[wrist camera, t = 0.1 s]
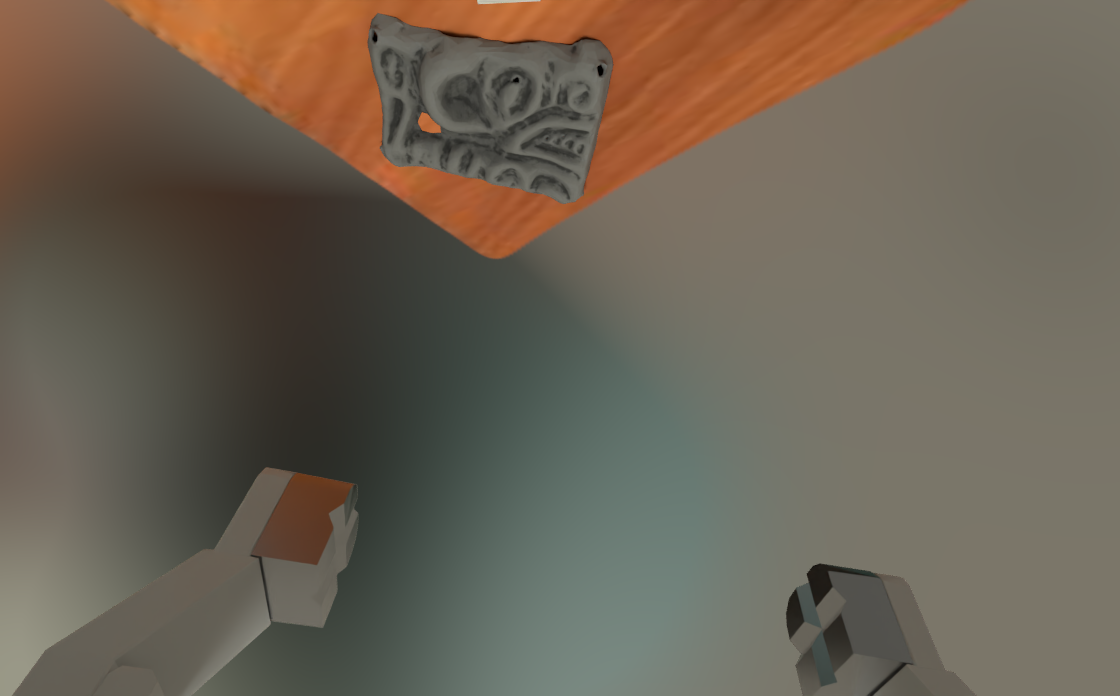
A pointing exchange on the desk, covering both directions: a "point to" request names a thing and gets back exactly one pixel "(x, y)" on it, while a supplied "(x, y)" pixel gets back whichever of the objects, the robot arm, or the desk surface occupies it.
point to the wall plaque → (491, 106)
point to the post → (502, 1)
